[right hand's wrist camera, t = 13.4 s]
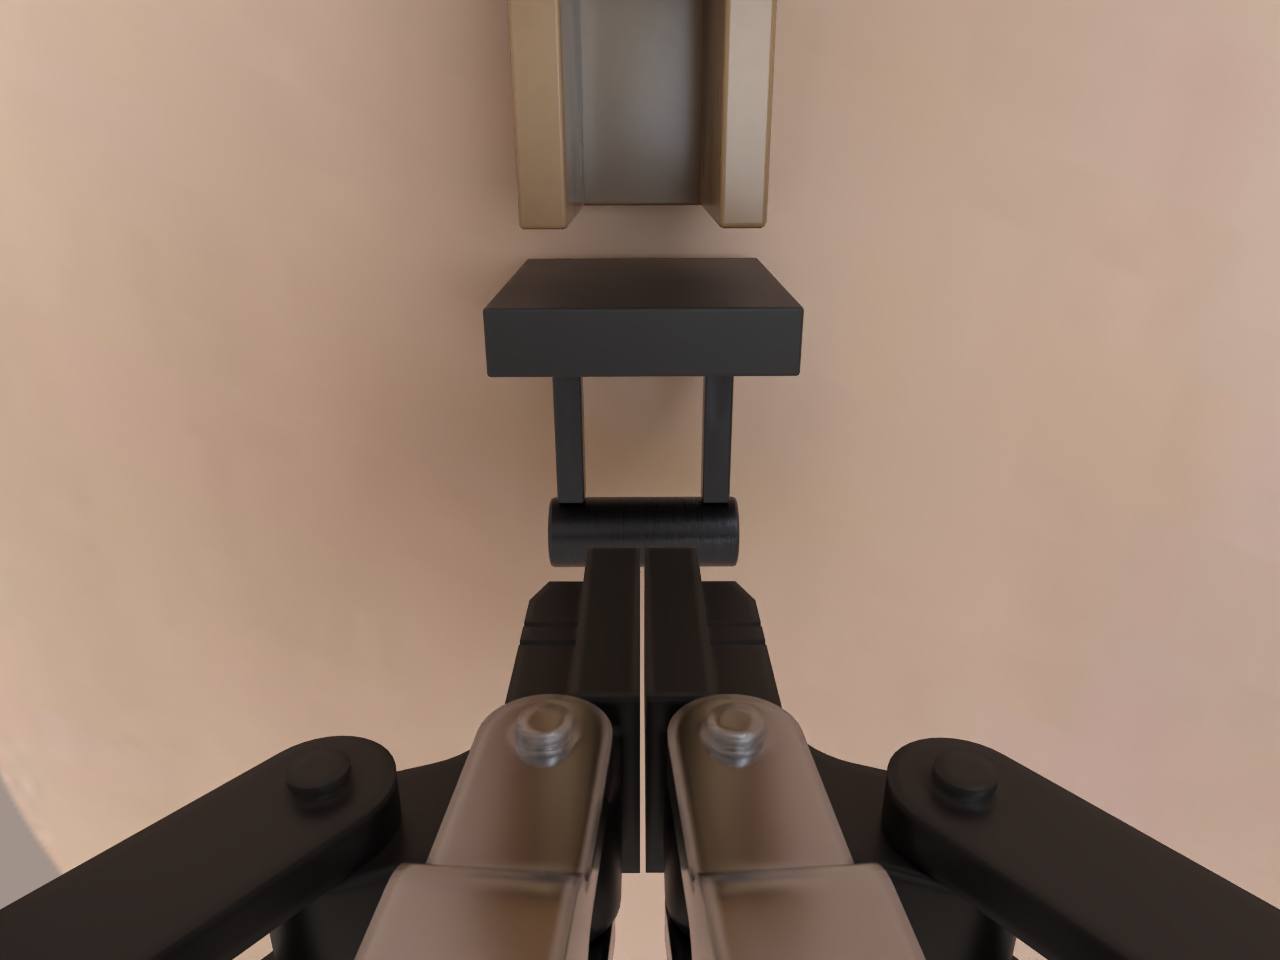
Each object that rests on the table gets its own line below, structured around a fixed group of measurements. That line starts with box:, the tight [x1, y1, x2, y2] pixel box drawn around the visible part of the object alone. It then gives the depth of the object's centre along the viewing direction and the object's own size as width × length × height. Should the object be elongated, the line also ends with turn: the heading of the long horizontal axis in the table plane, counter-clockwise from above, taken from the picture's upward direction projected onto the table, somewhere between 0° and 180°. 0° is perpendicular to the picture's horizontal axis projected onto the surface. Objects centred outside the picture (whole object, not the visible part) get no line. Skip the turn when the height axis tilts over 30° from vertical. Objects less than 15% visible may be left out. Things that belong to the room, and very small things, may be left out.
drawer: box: [483, 0, 804, 567], centre depth 17 cm, size 20×6×6 cm, turn 0°
